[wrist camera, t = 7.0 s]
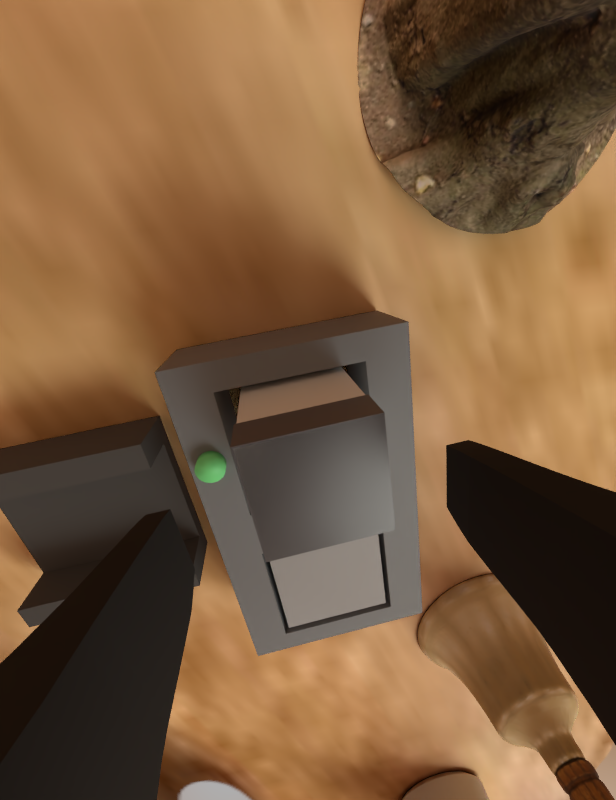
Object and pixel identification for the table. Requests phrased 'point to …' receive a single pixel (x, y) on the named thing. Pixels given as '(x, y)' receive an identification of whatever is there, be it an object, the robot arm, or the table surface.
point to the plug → (312, 462)
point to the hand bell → (510, 676)
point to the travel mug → (448, 788)
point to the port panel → (226, 502)
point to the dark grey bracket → (91, 502)
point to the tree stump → (488, 102)
